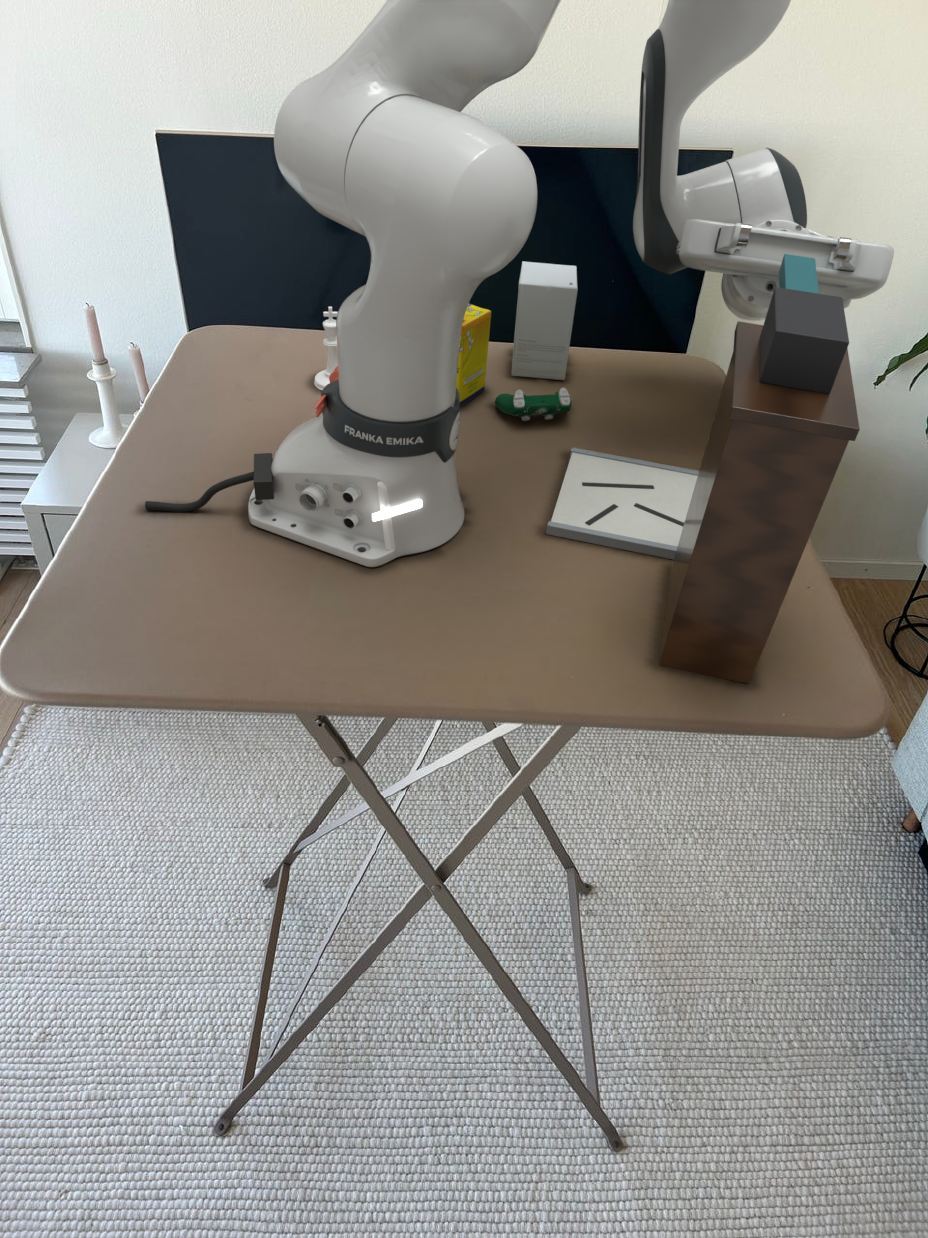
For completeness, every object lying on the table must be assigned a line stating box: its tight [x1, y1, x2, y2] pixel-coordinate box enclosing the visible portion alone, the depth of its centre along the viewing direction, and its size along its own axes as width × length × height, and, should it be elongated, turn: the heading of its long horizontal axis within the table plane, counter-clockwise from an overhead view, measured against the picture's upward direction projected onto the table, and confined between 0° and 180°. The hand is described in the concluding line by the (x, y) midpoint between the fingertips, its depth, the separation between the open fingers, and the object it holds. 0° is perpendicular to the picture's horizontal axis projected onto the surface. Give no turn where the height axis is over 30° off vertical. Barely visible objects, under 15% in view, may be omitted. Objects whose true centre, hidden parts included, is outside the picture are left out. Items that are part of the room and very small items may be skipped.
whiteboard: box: [545, 447, 699, 561], centre depth 96 cm, size 18×16×1 cm
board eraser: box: [760, 254, 850, 394], centre depth 69 cm, size 5×19×4 cm, turn 166°
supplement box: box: [456, 303, 492, 408], centre depth 109 cm, size 6×6×11 cm
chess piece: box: [313, 306, 338, 391], centre depth 109 cm, size 5×5×10 cm
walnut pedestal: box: [658, 320, 861, 685], centre depth 75 cm, size 9×15×26 cm, turn 166°
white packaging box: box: [511, 260, 579, 381], centre depth 115 cm, size 7×7×13 cm
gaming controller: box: [494, 387, 573, 422], centre depth 108 cm, size 9×4×6 cm
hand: (794, 239), depth 81 cm, fingers open, 8 cm apart
